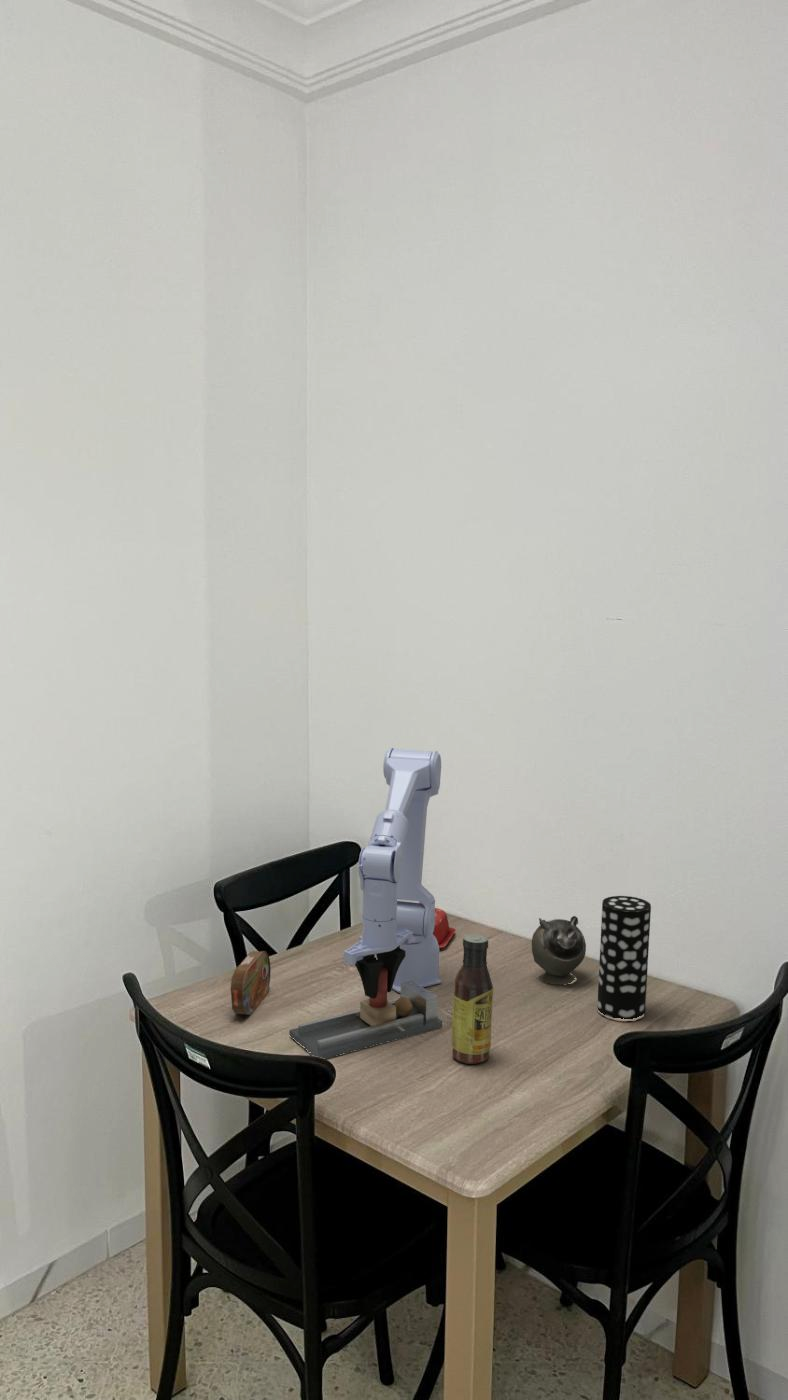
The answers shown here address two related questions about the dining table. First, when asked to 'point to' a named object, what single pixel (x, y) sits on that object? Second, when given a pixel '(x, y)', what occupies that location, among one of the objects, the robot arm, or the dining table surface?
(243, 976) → the tin
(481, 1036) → the sauce bottle
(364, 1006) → the press slider
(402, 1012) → the nut
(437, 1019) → the base
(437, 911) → the butter dish
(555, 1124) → the dining table surface
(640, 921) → the white-spotted black cylinder
